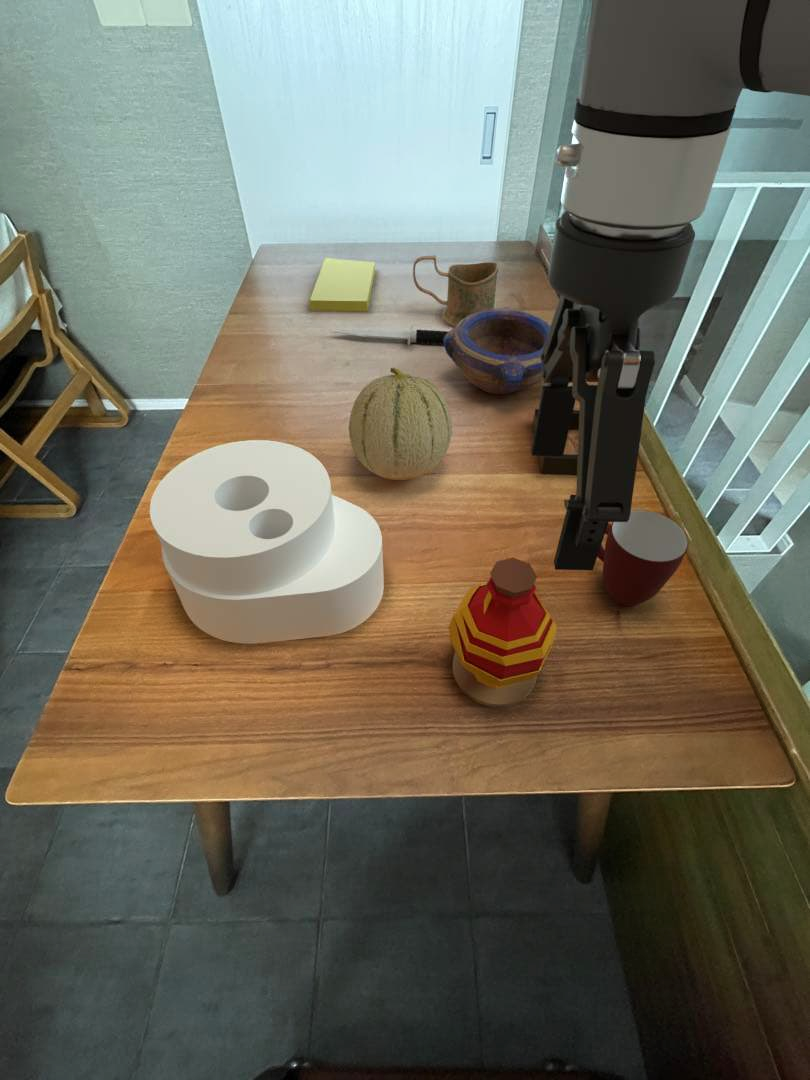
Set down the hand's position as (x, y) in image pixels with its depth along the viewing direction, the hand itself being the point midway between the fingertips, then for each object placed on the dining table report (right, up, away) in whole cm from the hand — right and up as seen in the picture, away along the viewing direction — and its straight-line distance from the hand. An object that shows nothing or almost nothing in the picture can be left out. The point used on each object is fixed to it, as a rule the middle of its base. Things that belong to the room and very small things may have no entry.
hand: (558, 504), depth 47 cm
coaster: (-3, -17, +16) cm, 23 cm away
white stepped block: (-27, -8, +25) cm, 38 cm away
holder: (+14, +11, +43) cm, 47 cm away
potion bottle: (-3, -17, +15) cm, 23 cm away
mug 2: (+13, -9, +24) cm, 29 cm away
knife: (-15, +36, +68) cm, 79 cm away
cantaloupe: (-13, +8, +40) cm, 43 cm away
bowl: (+5, +25, +57) cm, 63 cm away
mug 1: (-2, +44, +76) cm, 87 cm away
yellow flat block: (-26, +55, +86) cm, 105 cm away
